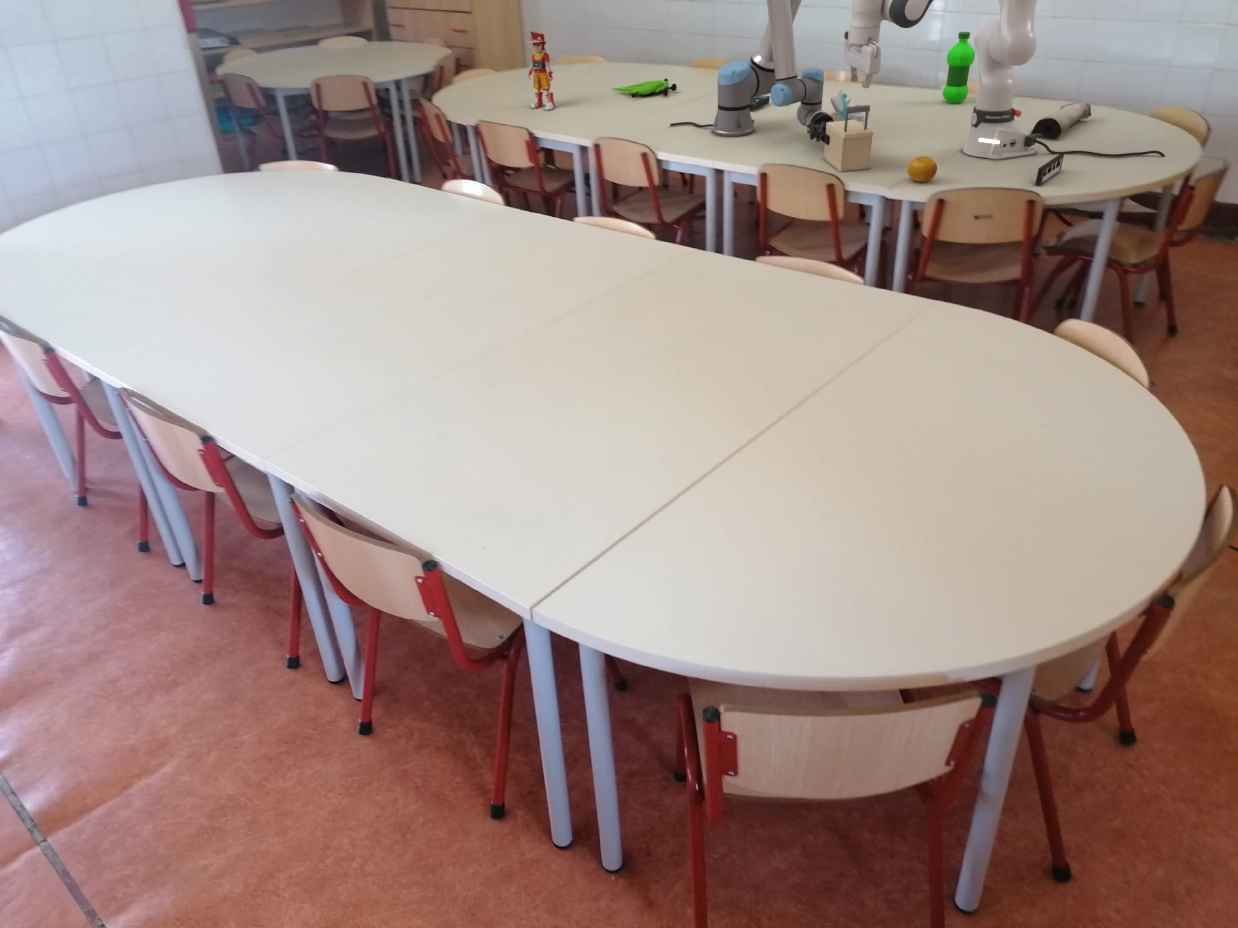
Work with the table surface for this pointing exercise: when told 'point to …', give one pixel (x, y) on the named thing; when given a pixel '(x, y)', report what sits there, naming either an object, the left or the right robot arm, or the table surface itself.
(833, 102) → the anatomical model
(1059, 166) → the midi keyboard
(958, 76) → the plastic bottle
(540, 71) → the toy
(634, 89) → the toy
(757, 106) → the disk drive
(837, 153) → the chest
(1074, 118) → the rolled mat
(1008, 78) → the right robot arm
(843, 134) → the lid
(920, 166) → the fruit
